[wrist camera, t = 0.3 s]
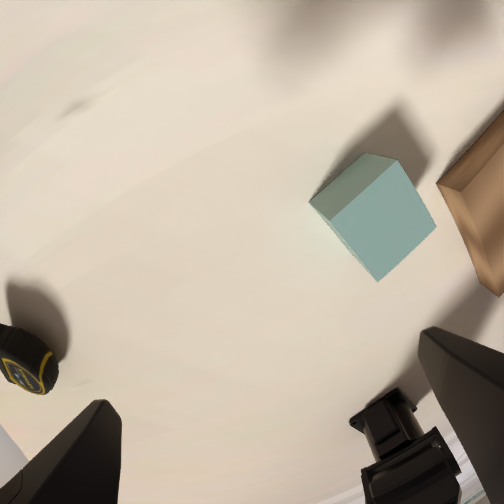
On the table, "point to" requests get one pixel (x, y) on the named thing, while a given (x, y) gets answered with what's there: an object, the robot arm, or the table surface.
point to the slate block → (375, 212)
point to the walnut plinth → (480, 204)
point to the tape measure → (27, 360)
